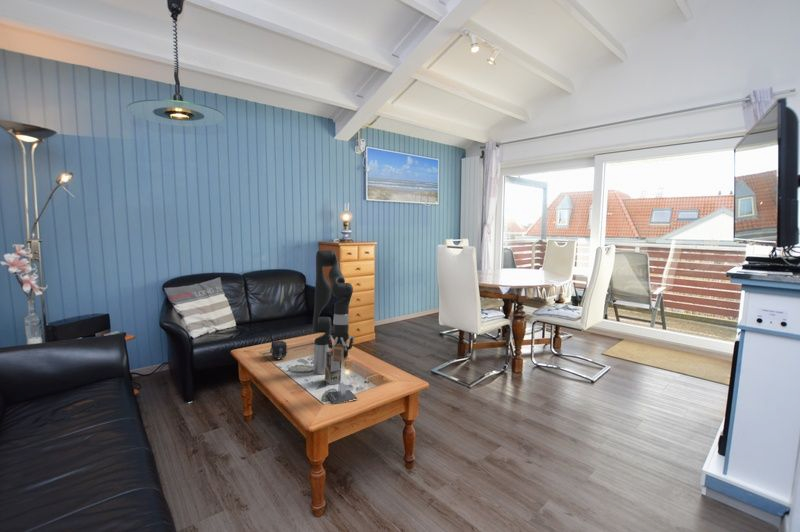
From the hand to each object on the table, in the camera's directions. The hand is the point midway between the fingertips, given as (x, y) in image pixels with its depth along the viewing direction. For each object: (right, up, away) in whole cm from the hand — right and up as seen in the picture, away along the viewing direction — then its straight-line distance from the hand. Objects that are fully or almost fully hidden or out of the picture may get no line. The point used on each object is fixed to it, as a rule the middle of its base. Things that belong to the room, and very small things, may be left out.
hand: (339, 357), depth 180 cm
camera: (-52, -17, +64) cm, 84 cm away
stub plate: (+1, -20, 0) cm, 20 cm away
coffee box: (-8, -20, +23) cm, 31 cm away
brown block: (0, -1, 0) cm, 1 cm away
